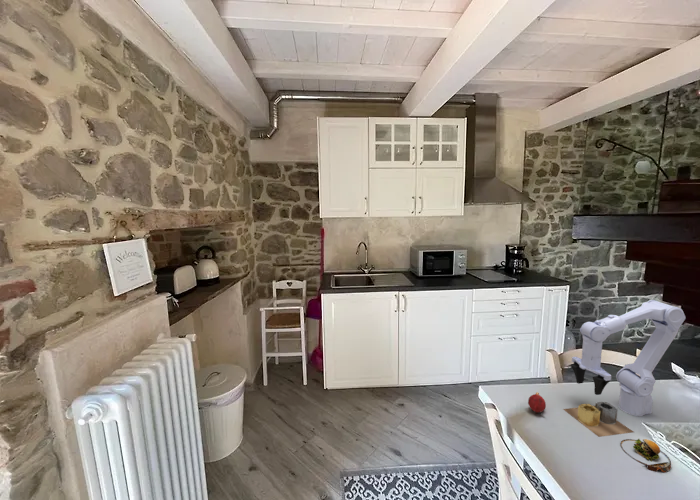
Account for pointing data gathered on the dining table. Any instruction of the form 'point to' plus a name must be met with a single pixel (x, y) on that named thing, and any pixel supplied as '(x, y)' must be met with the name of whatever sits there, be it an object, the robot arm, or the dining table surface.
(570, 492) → the dining table surface
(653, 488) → the dining table surface
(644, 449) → the burger
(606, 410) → the grey stone pot
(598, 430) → the gear board
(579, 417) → the yellow porous cube
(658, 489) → the dining table surface
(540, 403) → the red christmas ornament
